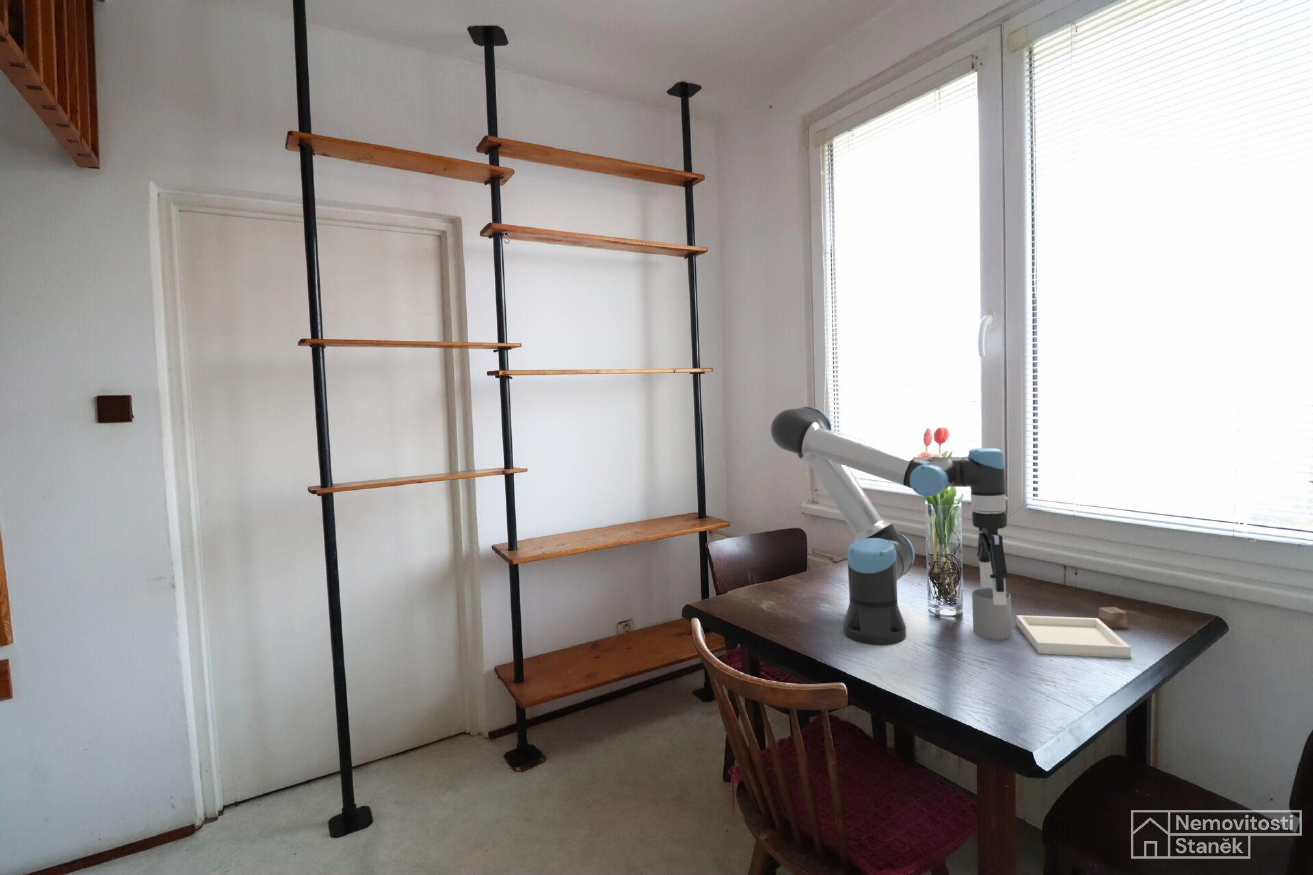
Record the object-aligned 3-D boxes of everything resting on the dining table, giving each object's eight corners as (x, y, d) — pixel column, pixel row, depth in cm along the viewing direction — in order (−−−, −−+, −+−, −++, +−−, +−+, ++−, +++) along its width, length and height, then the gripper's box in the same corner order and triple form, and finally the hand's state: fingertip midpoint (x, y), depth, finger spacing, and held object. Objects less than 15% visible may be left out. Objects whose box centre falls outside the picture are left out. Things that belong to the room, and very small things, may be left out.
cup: (1016, 639, 149) (1015, 599, 149) (979, 639, 151) (978, 599, 150) (1004, 627, 158) (1003, 588, 157) (969, 626, 159) (968, 588, 159)
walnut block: (1110, 628, 153) (1110, 613, 152) (1099, 623, 157) (1098, 607, 156) (1126, 628, 152) (1126, 612, 152) (1115, 622, 156) (1115, 606, 156)
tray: (1038, 653, 141) (1037, 642, 141) (1016, 624, 158) (1016, 615, 158) (1130, 658, 136) (1130, 647, 136) (1098, 628, 153) (1097, 618, 153)
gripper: (1020, 520, 139) (1024, 612, 140) (993, 501, 163) (997, 580, 164) (983, 521, 142) (987, 611, 143) (962, 502, 165) (966, 580, 166)
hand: (993, 595), depth 153 cm, fingers open, 13 cm apart
